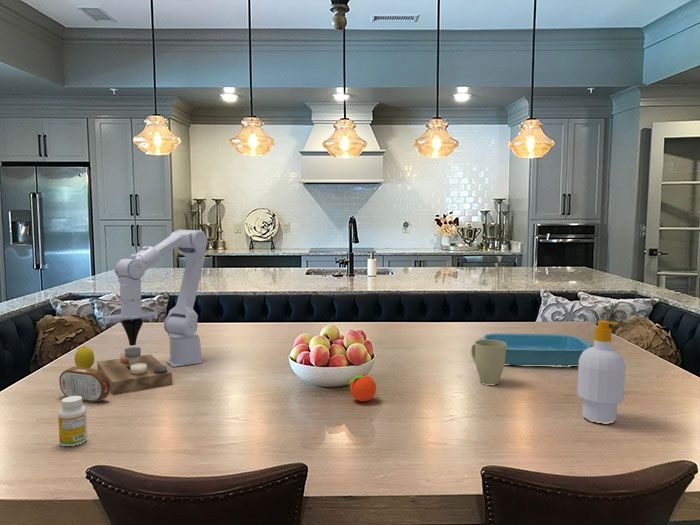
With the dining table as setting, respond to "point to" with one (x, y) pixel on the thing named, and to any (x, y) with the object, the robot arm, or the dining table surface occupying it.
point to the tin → (84, 384)
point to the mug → (489, 359)
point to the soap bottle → (601, 377)
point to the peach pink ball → (124, 358)
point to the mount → (128, 382)
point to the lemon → (84, 357)
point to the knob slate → (132, 354)
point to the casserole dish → (541, 348)
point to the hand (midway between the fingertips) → (132, 344)
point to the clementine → (362, 388)
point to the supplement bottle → (72, 422)
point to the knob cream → (138, 368)
